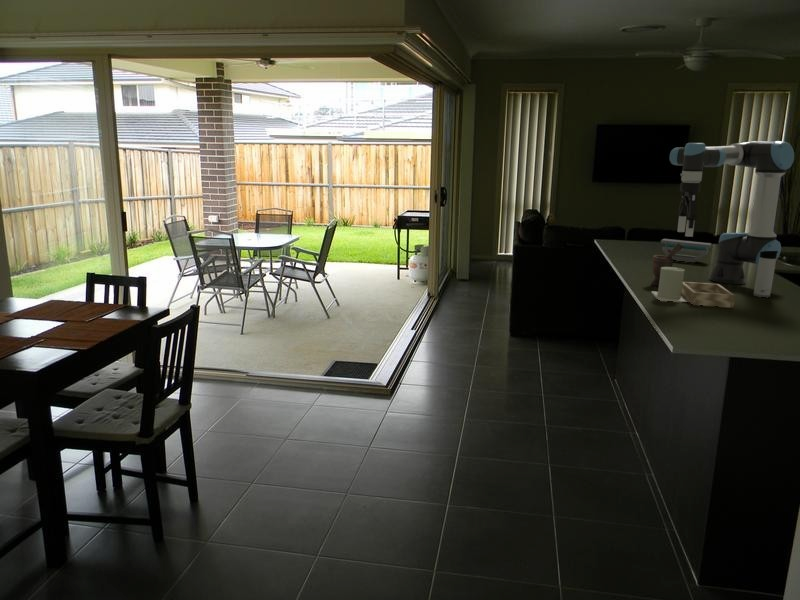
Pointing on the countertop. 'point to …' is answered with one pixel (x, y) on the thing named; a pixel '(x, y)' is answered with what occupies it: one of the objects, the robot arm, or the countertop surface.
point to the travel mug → (765, 273)
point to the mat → (668, 298)
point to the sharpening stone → (686, 249)
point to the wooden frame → (707, 294)
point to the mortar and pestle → (663, 263)
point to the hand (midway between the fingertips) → (684, 234)
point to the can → (670, 282)
